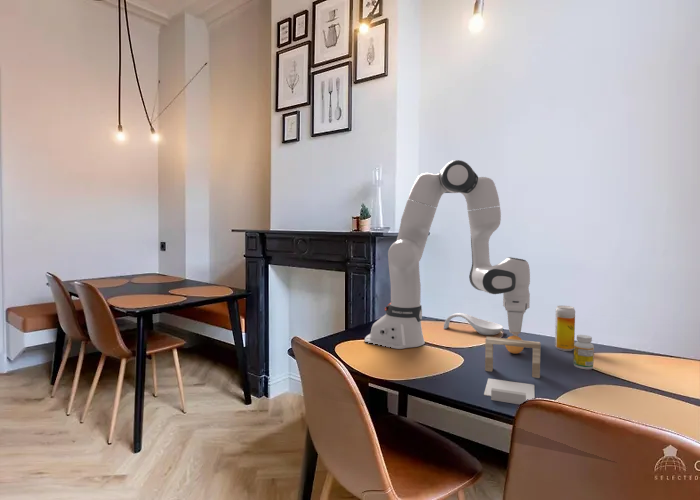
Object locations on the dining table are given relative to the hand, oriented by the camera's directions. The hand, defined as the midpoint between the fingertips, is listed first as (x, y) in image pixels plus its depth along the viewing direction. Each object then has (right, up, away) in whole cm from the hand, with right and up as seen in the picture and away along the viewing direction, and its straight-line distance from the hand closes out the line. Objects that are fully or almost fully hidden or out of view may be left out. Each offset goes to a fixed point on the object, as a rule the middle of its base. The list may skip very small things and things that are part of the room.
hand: (515, 339), depth 148 cm
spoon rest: (-9, -2, +20) cm, 22 cm away
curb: (-21, -5, -46) cm, 51 cm away
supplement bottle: (+12, -4, -22) cm, 25 cm away
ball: (-4, 0, -9) cm, 10 cm away
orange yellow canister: (+16, -3, -4) cm, 16 cm away
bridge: (-12, -4, -27) cm, 30 cm away
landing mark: (-18, -5, -39) cm, 44 cm away
